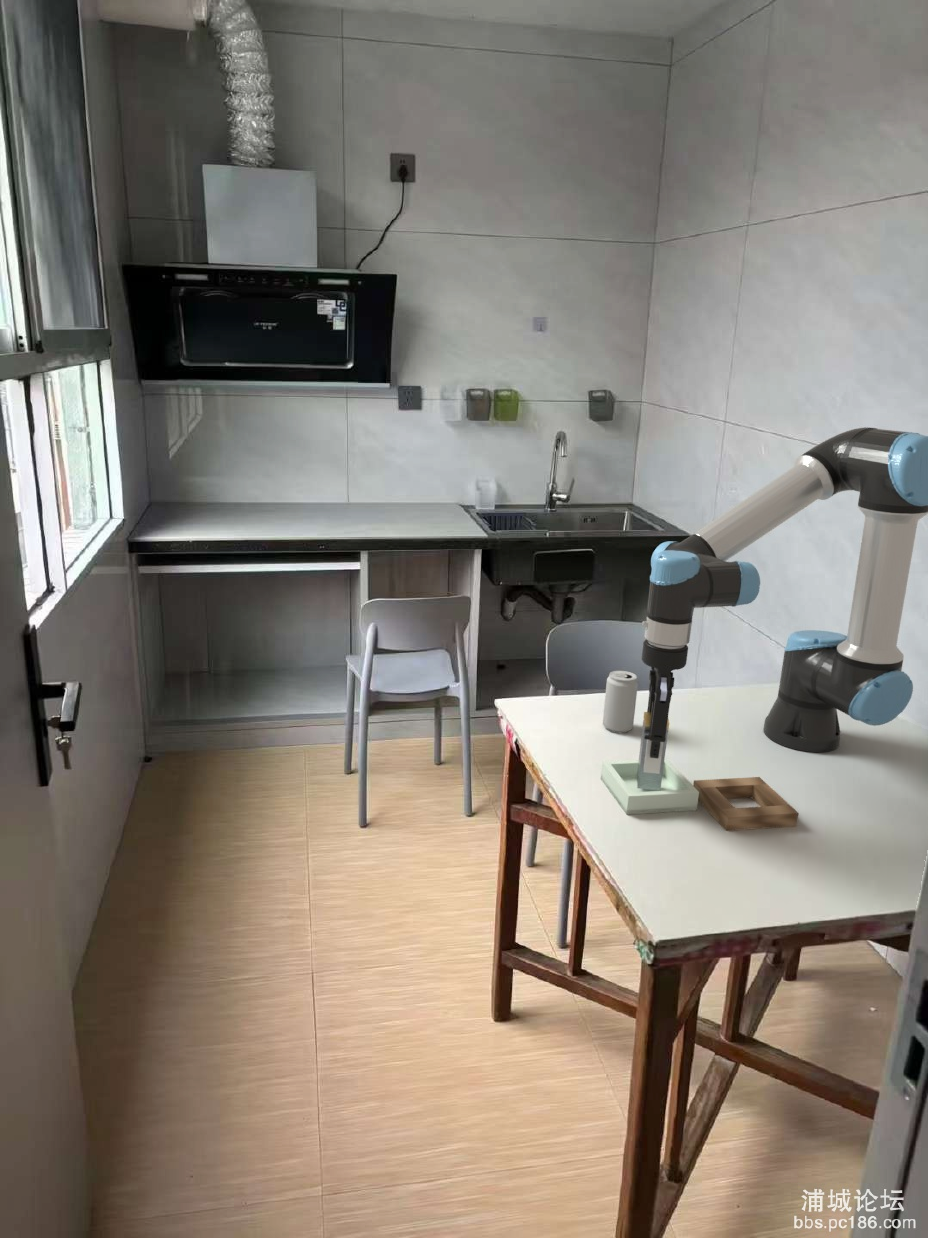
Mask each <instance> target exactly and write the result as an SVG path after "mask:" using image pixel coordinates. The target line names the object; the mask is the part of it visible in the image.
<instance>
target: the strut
mask: <svg viewBox="0 0 928 1238" xmlns="http://www.w3.org/2000/svg"><path fill="white" fill-rule="evenodd" d="M650 721H651V713H650V712H647V711H644V712H643V722H642V729H641V740H640V745H639V755H638V760H639V762H638V770H637V788H640V789H649V790H657V791H660V789H661V782H662V774H663V766H664V759H666V758H665V757H666V749H667V742H668V735H669V734H668V733H669V730H670V720H669V718H668V721H667V728H666V736H665V737H666V740H665V742H663V749H662V757H661V765H660V773H659V774H655V773H646V772H644V762H645V754H646V746H647V739H644V738H645V735H649V731H650Z"/></svg>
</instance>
